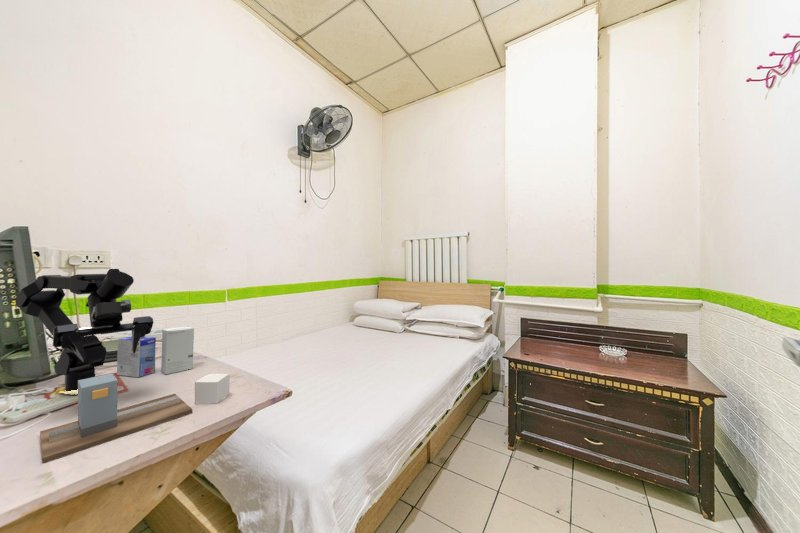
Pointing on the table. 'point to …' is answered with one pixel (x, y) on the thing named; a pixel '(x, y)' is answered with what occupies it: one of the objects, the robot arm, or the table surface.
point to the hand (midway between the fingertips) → (110, 356)
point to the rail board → (128, 421)
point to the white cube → (211, 388)
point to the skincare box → (177, 349)
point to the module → (97, 404)
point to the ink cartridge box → (136, 357)
